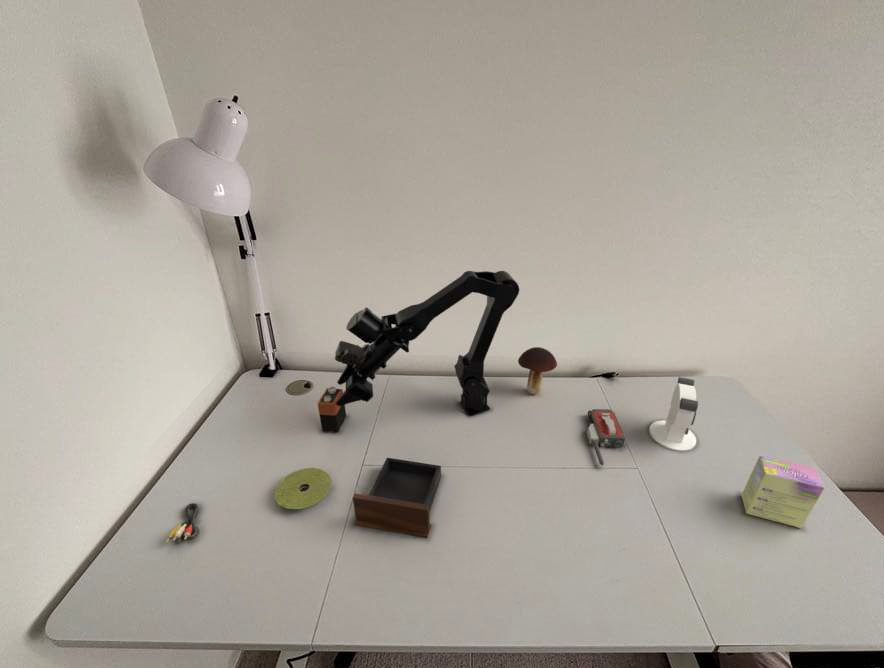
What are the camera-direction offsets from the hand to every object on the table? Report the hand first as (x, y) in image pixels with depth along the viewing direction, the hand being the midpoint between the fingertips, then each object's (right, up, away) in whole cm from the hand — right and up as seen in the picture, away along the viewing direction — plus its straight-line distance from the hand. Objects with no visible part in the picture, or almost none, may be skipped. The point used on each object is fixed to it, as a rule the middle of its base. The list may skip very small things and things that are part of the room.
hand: (338, 393), depth 109 cm
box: (+97, -23, -16) cm, 101 cm away
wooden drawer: (+19, -21, -17) cm, 33 cm away
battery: (-2, -9, +4) cm, 10 cm away
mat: (-2, -20, -16) cm, 25 cm away
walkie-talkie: (+67, -12, +2) cm, 69 cm away
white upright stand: (+86, -12, +4) cm, 86 cm away
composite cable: (-21, -23, -23) cm, 39 cm away
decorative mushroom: (+52, -2, +19) cm, 55 cm away
